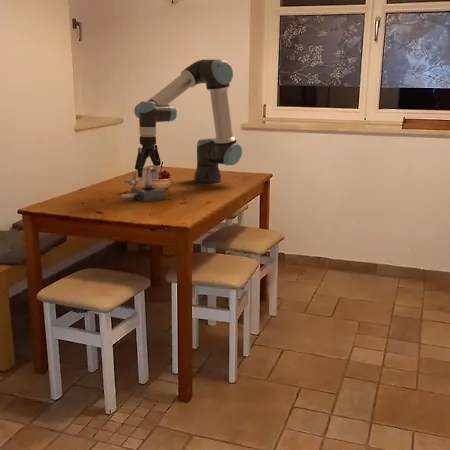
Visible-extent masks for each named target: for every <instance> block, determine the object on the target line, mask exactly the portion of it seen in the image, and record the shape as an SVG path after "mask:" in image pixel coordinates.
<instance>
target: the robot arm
mask: <svg viewBox="0 0 450 450" xmlns="http://www.w3.org/2000/svg"><path fill="white" fill-rule="evenodd" d="M233 77H234V71H233V68H232V66H231V64H230V63H229V62H228V61H227V60H224V59H200V60H197V61H195V62H193V63H192V64H190V65H188V66H186V68H184V69H183V70H181V72H180V75H179V76H177V77H176V78H175V79H174V80H172V81H171V82H170V83H168V84H167V85H166V86H165V87H164V88H162V89H161V90H160V91H158V92H157V93H156V94H155V95H153V96H152V97H150V98H149V99H147V100H145V101H140V102H139V103H137V104H136V105H135V107H134V110H133V112H134V115H135V117H136V118H138V119H139V120H138V121H139V125H138V126H139V128H138V130H139V144H140V145H141V147H138V149H137V156H136V159H135V165H134V169H135V170H137V178H138V185H145V183H144V181H145V171H144V170H143V168H145V164H146V162H147V159H148V158H150V160H151V162H152V166H151V167H152V169H157V172H152V180H159V166H161V162H162V161H161V158H160V153H159V150H158V145H157V137H156V135H157V123H159V122H160V123H164V122H165V123H166V122H168V123H169V122H173V121H175V120H176V119H177V117H178V114H177V113H178V111H177V109H176V107H175V106H174V105H172V104H171V103H172V102H173V101H174V100H176V99H177V98H178V97H180V96H181V95H182V94H184V93H185V92H186V91H187V90H188V89H189V88H194V87H196V86H197V85H199V84H205V85H206V90H207V91H209V93H210V100H211V107H212V108H211V109H212V116H213V124H214V130H215V131H214V132H215V137H214V138H212V137H211V138H201V139H198V140H197V143H196V169H195V172H194V175H193V182H195V183H202V184H216V183H220V182H222V176H221V175H222V174H221V171H220V168H219V165H224V166H235V165H236V164H238V163H239V161H240V160H241V159H242V155H243V148H242V146H241V145H240V143H238V142H237V138H236V136H234V135H233V127H232V120H231V111H230V105H229V95H228V89H229V87H230V83H232V81H233Z"/></svg>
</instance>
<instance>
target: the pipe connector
mask: <svg viewBox="0 0 450 450" xmlns="http://www.w3.org/2000/svg"><path fill="white" fill-rule="evenodd" d="M131 172H132V177H131V178H132V179H131V178H130V179H127V178H125V179H124V181H123V182H124V184H129V186H132V188H136V187H137V184H138V177H137V171H131ZM144 184H145V180H144ZM138 185H139V184H138Z"/></svg>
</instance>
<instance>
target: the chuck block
mask: <svg viewBox="0 0 450 450" xmlns="http://www.w3.org/2000/svg"><path fill="white" fill-rule="evenodd" d="M120 199H121V200H122V201H123V200H130V199H134V200H137V201H140V202H143V203H148V202H154V201H163V200H167V189H165V188H162V187H159V186H156V185H152V190H145V186H139V187H137V186H136V188H133V187H131V188H130V192H129V193H122V194H120Z"/></svg>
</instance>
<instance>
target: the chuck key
mask: <svg viewBox="0 0 450 450" xmlns="http://www.w3.org/2000/svg"><path fill="white" fill-rule="evenodd" d="M143 170H144V181H145V183H144V187H145V190H152V186H153V172H157V169H152V166H144V167H143Z"/></svg>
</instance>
